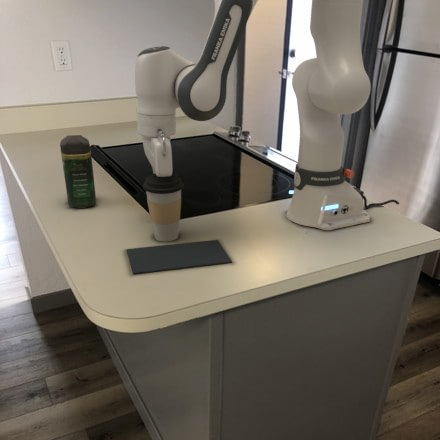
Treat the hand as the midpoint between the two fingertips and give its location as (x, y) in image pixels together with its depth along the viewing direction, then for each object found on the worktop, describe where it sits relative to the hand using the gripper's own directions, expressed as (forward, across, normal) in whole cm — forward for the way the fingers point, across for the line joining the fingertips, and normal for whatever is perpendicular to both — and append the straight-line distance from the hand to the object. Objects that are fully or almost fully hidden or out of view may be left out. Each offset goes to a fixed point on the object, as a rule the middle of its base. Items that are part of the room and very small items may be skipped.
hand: (158, 184), depth 119 cm
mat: (+12, -17, -1) cm, 21 cm away
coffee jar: (+12, +23, +18) cm, 32 cm away
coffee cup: (+12, -6, -1) cm, 13 cm away
